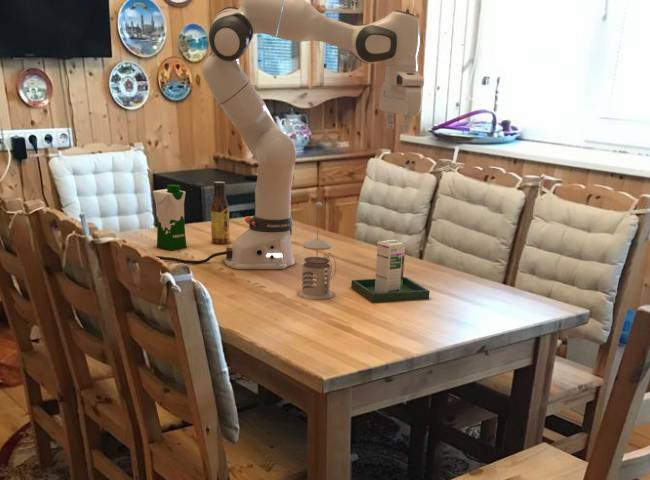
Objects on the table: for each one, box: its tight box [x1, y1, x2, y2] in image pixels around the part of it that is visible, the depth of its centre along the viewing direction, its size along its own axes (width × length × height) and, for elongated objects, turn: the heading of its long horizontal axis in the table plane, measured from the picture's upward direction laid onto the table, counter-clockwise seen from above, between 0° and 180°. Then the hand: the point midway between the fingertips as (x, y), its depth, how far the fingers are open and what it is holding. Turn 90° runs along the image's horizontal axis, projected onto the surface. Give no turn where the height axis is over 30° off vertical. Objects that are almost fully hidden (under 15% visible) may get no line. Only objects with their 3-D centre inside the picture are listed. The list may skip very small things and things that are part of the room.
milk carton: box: [152, 183, 188, 251], centre depth 270 cm, size 9×9×20 cm
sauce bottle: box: [210, 180, 231, 245], centre depth 279 cm, size 7×6×20 cm
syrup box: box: [374, 239, 406, 293], centre depth 231 cm, size 6×6×14 cm
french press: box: [298, 201, 337, 300], centre depth 225 cm, size 10×12×25 cm
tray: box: [350, 276, 431, 304], centre depth 235 cm, size 18×16×2 cm
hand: (397, 130), depth 238 cm, fingers open, 8 cm apart
